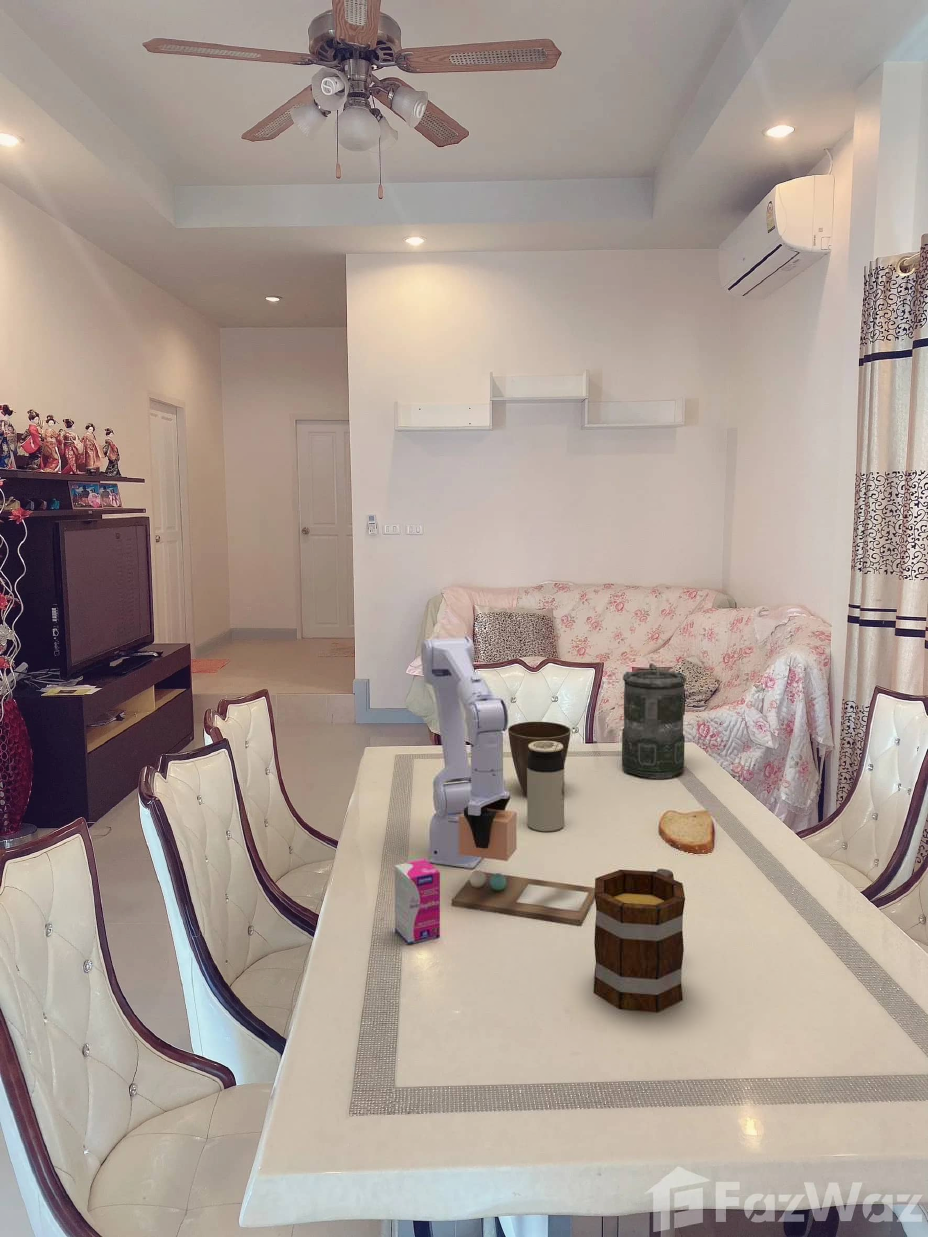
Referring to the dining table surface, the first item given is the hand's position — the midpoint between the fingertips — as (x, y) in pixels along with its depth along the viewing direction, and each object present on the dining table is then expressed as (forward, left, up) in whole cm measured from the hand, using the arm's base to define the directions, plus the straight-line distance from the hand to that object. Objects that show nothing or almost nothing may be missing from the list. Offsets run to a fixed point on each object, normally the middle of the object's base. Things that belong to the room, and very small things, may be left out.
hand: (487, 841), depth 158 cm
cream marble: (-2, 0, -7) cm, 8 cm away
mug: (+31, -19, -10) cm, 38 cm away
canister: (+17, +83, -10) cm, 85 cm away
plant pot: (-6, +56, -10) cm, 57 cm away
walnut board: (+7, 0, -10) cm, 12 cm away
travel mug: (+1, +36, -10) cm, 37 cm away
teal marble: (+2, 0, -7) cm, 8 cm away
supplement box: (-6, -18, -10) cm, 21 cm away
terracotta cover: (0, 0, -2) cm, 2 cm away
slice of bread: (+31, +41, -10) cm, 53 cm away
